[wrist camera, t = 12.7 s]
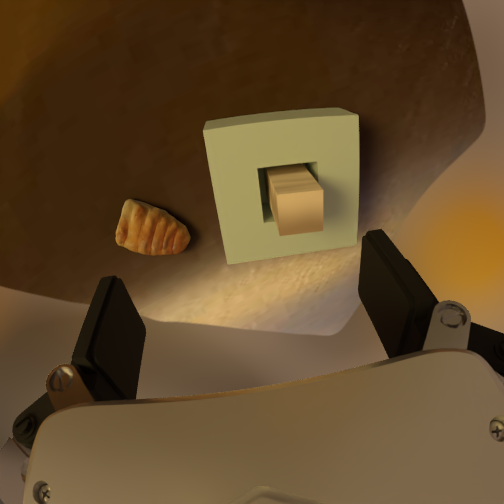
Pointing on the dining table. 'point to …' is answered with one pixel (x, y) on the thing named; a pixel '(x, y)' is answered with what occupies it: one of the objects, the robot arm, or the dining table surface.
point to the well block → (275, 154)
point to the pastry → (150, 230)
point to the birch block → (294, 199)
